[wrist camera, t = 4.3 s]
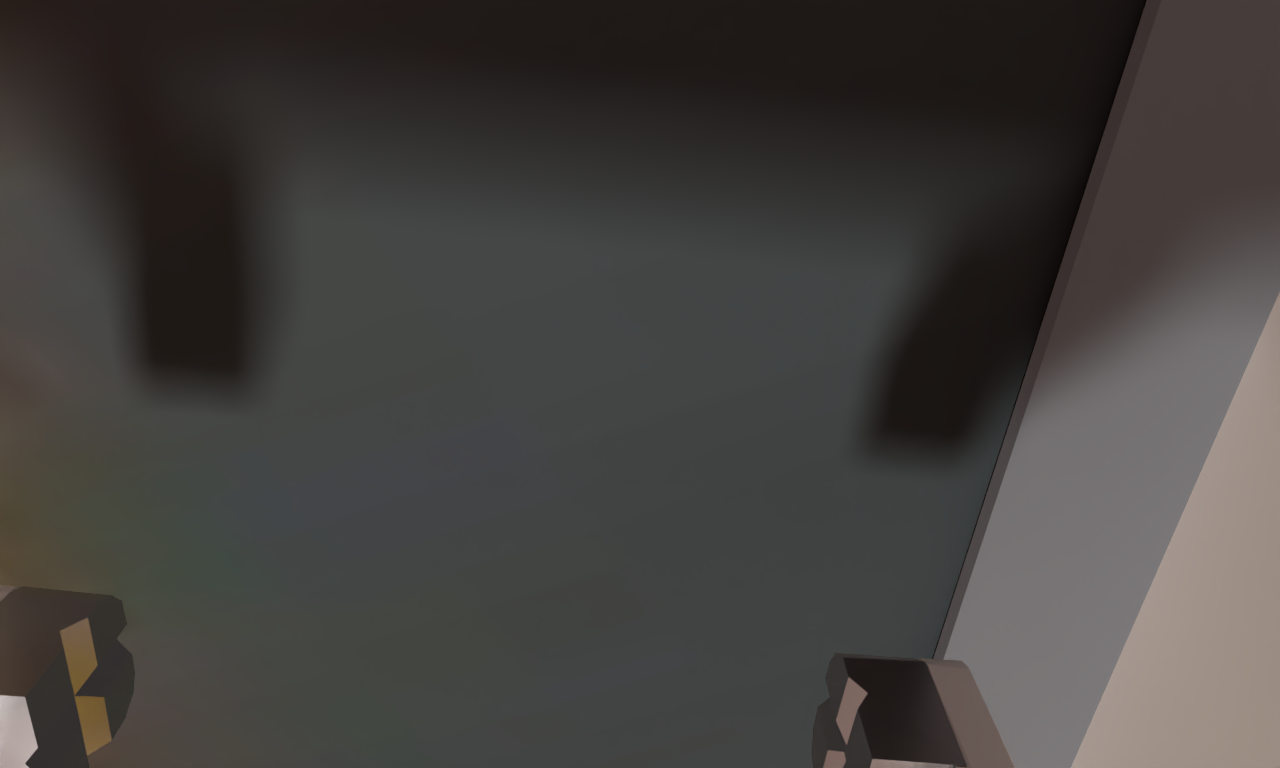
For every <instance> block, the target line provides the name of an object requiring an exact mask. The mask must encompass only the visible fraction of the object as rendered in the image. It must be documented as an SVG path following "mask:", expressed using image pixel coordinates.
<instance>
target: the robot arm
mask: <svg viewBox="0 0 1280 768" xmlns="http://www.w3.org/2000/svg"><path fill="white" fill-rule="evenodd" d="M126 625H127V622H126V618H125V614H124V609H123V605H122V601H121V600H119V599H117V598H115V597H114V596H111V595H102V594H92V593H82V592H72V591H63V590H53V589H43V588H33V587H14V586H5V585H0V768H89V763H88V758H87V755H89V754H90V753H92V752H94V751H95V750H97V749H98V748H100V747H102V746H103V745H105V744H106V743H108V742H110V741H111V740H112V739H113V737H114V736H115V734H116V732H117V731H118V729H119V728H120V726H121V724H122V723H123V721H124V719H125V717H126V714H127V711H128V707H129V704H130V701H131V698H132V695H133V691H134V676H135V670H134V664H133V657H132V654H131V653H130V652H129V651H128V650H127V649H126V648H125V647H124V646H123V645H122V644H121V643H120V642H119V641H118V640H117V637H118V636H119V634H120V633H121V632H122V630H123V629H124V627H125V626H126ZM825 679H826V683H827V687H828V691H829V695H830V698H828V699H827V700H826V701H825V702H823V703H822V704H821V705H820V706H818V709H817V713H816V718H815V722H814V727H813V739H812V761H813V768H1015V766H1014V764H1013V761H1012V759H1011V757H1010V755H1009V753H1008V751H1007V748H1006V746H1005V744H1004V742H1003V740H1002V738H1001V736H1000V733H999V731H998V729H997V727H996V725H995V723H994V721H993V718H992V716H991V714H990V712H989V710H988V708H987V706H986V703H985V701H984V699H983V697H982V695H981V693H980V690H979V688H978V686H977V684H976V682H975V680H974V678H973V675H972V673H971V671H970V669H969V667H968V666H967V665H966V664H965V663H963V662H962V661H958V660H942V659H925V658H920V659H914V658H900V657H886V656H872V655H858V654H844V653H835V654H834V656H833V658H832V659H831V661H830V664H829V667H828V671H827V674H826V678H825Z"/></svg>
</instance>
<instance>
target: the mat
mask: <svg viewBox="0 0 1280 768" xmlns="http://www.w3.org/2000/svg"><path fill="white" fill-rule="evenodd" d="M1279 293H1280V0H1147V1H1146V4H1145V7H1144V10H1143V13H1142V16H1141V19H1140V23H1139V26H1138V29H1137V32H1136V35H1135V38H1134V41H1133V44H1132V47H1131V50H1130V53H1129V56H1128V60H1127V63H1126V66H1125V69H1124V72H1123V75H1122V78H1121V81H1120V84H1119V87H1118V90H1117V93H1116V97H1115V100H1114V103H1113V106H1112V109H1111V112H1110V115H1109V118H1108V121H1107V124H1106V127H1105V130H1104V134H1103V137H1102V140H1101V143H1100V146H1099V149H1098V152H1097V155H1096V158H1095V161H1094V164H1093V167H1092V171H1091V174H1090V177H1089V180H1088V183H1087V186H1086V189H1085V192H1084V195H1083V198H1082V201H1081V204H1080V208H1079V211H1078V214H1077V217H1076V220H1075V223H1074V226H1073V229H1072V232H1071V235H1070V238H1069V241H1068V245H1067V248H1066V251H1065V254H1064V257H1063V260H1062V263H1061V266H1060V269H1059V272H1058V275H1057V278H1056V282H1055V285H1054V288H1053V291H1052V294H1051V297H1050V300H1049V303H1048V306H1047V309H1046V312H1045V315H1044V319H1043V322H1042V325H1041V328H1040V331H1039V334H1038V337H1037V340H1036V343H1035V346H1034V349H1033V352H1032V356H1031V359H1030V362H1029V365H1028V368H1027V371H1026V374H1025V377H1024V380H1023V383H1022V386H1021V389H1020V393H1019V396H1018V399H1017V402H1016V405H1015V408H1014V411H1013V414H1012V417H1011V420H1010V423H1009V426H1008V430H1007V433H1006V436H1005V439H1004V442H1003V445H1002V448H1001V451H1000V454H999V457H998V460H997V463H996V467H995V470H994V473H993V476H992V479H991V482H990V485H989V488H988V491H987V494H986V497H985V500H984V504H983V507H982V510H981V513H980V516H979V519H978V522H977V525H976V528H975V531H974V534H973V537H972V541H971V544H970V547H969V550H968V553H967V556H966V559H965V562H964V565H963V568H962V571H961V574H960V578H959V581H958V584H957V587H956V590H955V593H954V596H953V599H952V602H951V605H950V608H949V611H948V615H947V618H946V621H945V624H944V627H943V630H942V633H941V636H940V639H939V642H938V645H937V648H936V652H935V655H934V658H933V659H942V660H958V661H962V662H963V663H965V664H966V665H967V666H968V667H969V669H970V671H971V673H972V675H973V678H974V680H975V682H976V684H977V686H978V688H979V690H980V693H981V695H982V697H983V699H984V701H985V703H986V706H987V708H988V710H989V712H990V714H991V716H992V718H993V721H994V723H995V725H996V727H997V729H998V731H999V733H1000V736H1001V738H1002V740H1003V742H1004V744H1005V746H1006V748H1007V751H1008V753H1009V755H1010V757H1011V759H1012V761H1013V764H1014V766H1015V768H1071V766H1072V764H1073V762H1074V759H1075V757H1076V755H1077V752H1078V750H1079V748H1080V746H1081V743H1082V741H1083V739H1084V737H1085V734H1086V732H1087V730H1088V727H1089V725H1090V723H1091V721H1092V718H1093V716H1094V714H1095V711H1096V709H1097V707H1098V705H1099V702H1100V700H1101V698H1102V696H1103V693H1104V691H1105V689H1106V686H1107V684H1108V682H1109V680H1110V677H1111V675H1112V673H1113V670H1114V668H1115V666H1116V664H1117V661H1118V659H1119V657H1120V655H1121V652H1122V650H1123V648H1124V645H1125V643H1126V641H1127V639H1128V636H1129V634H1130V632H1131V629H1132V627H1133V625H1134V623H1135V620H1136V618H1137V616H1138V614H1139V611H1140V609H1141V607H1142V604H1143V602H1144V600H1145V598H1146V595H1147V593H1148V591H1149V589H1150V586H1151V584H1152V582H1153V579H1154V577H1155V575H1156V573H1157V570H1158V568H1159V566H1160V563H1161V561H1162V559H1163V557H1164V554H1165V552H1166V550H1167V548H1168V545H1169V543H1170V541H1171V538H1172V536H1173V534H1174V532H1175V529H1176V527H1177V525H1178V522H1179V520H1180V518H1181V516H1182V513H1183V511H1184V509H1185V507H1186V504H1187V502H1188V500H1189V497H1190V495H1191V493H1192V491H1193V488H1194V486H1195V484H1196V482H1197V479H1198V477H1199V475H1200V472H1201V470H1202V468H1203V466H1204V463H1205V461H1206V459H1207V456H1208V454H1209V452H1210V450H1211V447H1212V445H1213V443H1214V441H1215V438H1216V436H1217V434H1218V431H1219V429H1220V427H1221V425H1222V422H1223V420H1224V418H1225V415H1226V413H1227V411H1228V409H1229V406H1230V404H1231V402H1232V400H1233V397H1234V395H1235V393H1236V390H1237V388H1238V386H1239V384H1240V381H1241V379H1242V377H1243V374H1244V372H1245V370H1246V368H1247V365H1248V363H1249V361H1250V359H1251V356H1252V354H1253V352H1254V349H1255V347H1256V345H1257V343H1258V340H1259V338H1260V336H1261V334H1262V331H1263V329H1264V327H1265V324H1266V322H1267V320H1268V318H1269V315H1270V313H1271V311H1272V308H1273V306H1274V304H1275V302H1276V299H1277V297H1278V295H1279Z"/></svg>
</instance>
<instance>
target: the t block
mask: <svg viewBox="0 0 1280 768" xmlns="http://www.w3.org/2000/svg"><path fill="white" fill-rule="evenodd" d="M1071 768H1280V293H1279V295H1278V297H1277V299H1276V302H1275V304H1274V306H1273V308H1272V311H1271V313H1270V315H1269V318H1268V320H1267V322H1266V324H1265V327H1264V329H1263V331H1262V334H1261V336H1260V338H1259V340H1258V343H1257V345H1256V347H1255V349H1254V352H1253V354H1252V356H1251V359H1250V361H1249V363H1248V365H1247V368H1246V370H1245V372H1244V374H1243V377H1242V379H1241V381H1240V384H1239V386H1238V388H1237V390H1236V393H1235V395H1234V397H1233V400H1232V402H1231V404H1230V406H1229V409H1228V411H1227V413H1226V415H1225V418H1224V420H1223V422H1222V425H1221V427H1220V429H1219V431H1218V434H1217V436H1216V438H1215V441H1214V443H1213V445H1212V447H1211V450H1210V452H1209V454H1208V456H1207V459H1206V461H1205V463H1204V466H1203V468H1202V470H1201V472H1200V475H1199V477H1198V479H1197V482H1196V484H1195V486H1194V488H1193V491H1192V493H1191V495H1190V497H1189V500H1188V502H1187V504H1186V507H1185V509H1184V511H1183V513H1182V516H1181V518H1180V520H1179V522H1178V525H1177V527H1176V529H1175V532H1174V534H1173V536H1172V538H1171V541H1170V543H1169V545H1168V548H1167V550H1166V552H1165V554H1164V557H1163V559H1162V561H1161V563H1160V566H1159V568H1158V570H1157V573H1156V575H1155V577H1154V579H1153V582H1152V584H1151V586H1150V589H1149V591H1148V593H1147V595H1146V598H1145V600H1144V602H1143V604H1142V607H1141V609H1140V611H1139V614H1138V616H1137V618H1136V620H1135V623H1134V625H1133V627H1132V629H1131V632H1130V634H1129V636H1128V639H1127V641H1126V643H1125V645H1124V648H1123V650H1122V652H1121V655H1120V657H1119V659H1118V661H1117V664H1116V666H1115V668H1114V670H1113V673H1112V675H1111V677H1110V680H1109V682H1108V684H1107V686H1106V689H1105V691H1104V693H1103V696H1102V698H1101V700H1100V702H1099V705H1098V707H1097V709H1096V711H1095V714H1094V716H1093V718H1092V721H1091V723H1090V725H1089V727H1088V730H1087V732H1086V734H1085V737H1084V739H1083V741H1082V743H1081V746H1080V748H1079V750H1078V752H1077V755H1076V757H1075V759H1074V762H1073V764H1072V766H1071Z"/></svg>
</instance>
